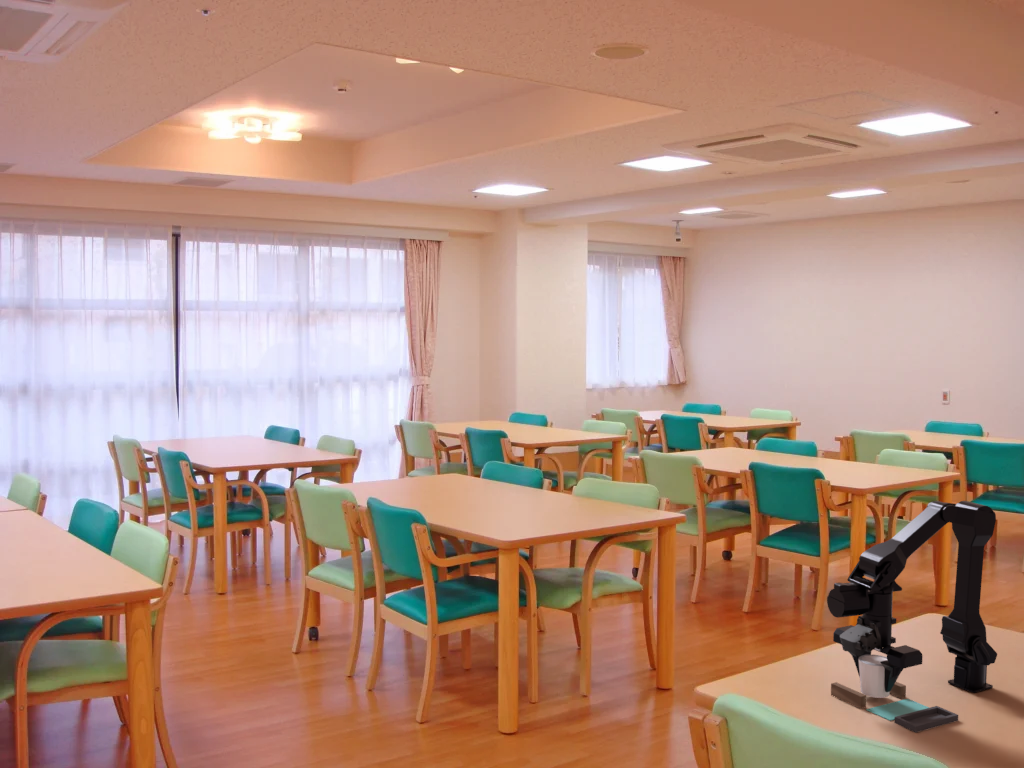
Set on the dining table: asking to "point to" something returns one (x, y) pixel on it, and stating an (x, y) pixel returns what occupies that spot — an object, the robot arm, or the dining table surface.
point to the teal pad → (896, 709)
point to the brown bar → (859, 698)
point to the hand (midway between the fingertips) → (875, 686)
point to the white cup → (872, 676)
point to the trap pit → (926, 719)
